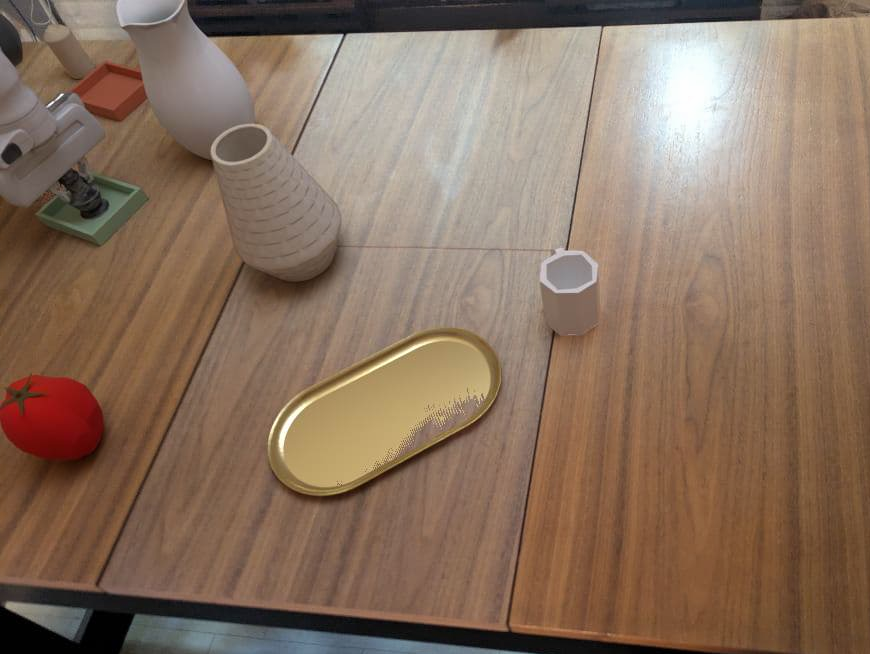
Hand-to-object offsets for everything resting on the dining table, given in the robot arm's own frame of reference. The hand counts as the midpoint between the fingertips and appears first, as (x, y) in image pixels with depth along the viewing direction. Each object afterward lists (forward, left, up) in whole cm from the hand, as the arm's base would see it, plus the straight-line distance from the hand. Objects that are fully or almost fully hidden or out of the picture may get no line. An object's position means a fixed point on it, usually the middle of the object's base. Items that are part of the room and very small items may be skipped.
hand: (79, 190), depth 125 cm
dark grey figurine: (0, 0, -5) cm, 5 cm away
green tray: (0, 0, -5) cm, 5 cm away
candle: (-36, +32, -5) cm, 48 cm away
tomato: (+34, -37, -5) cm, 51 cm away
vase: (+44, +5, -5) cm, 45 cm away
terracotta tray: (-22, +28, -5) cm, 36 cm away
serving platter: (+74, -15, -5) cm, 76 cm away
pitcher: (+8, +26, -5) cm, 28 cm away
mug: (+90, +12, -5) cm, 91 cm away
